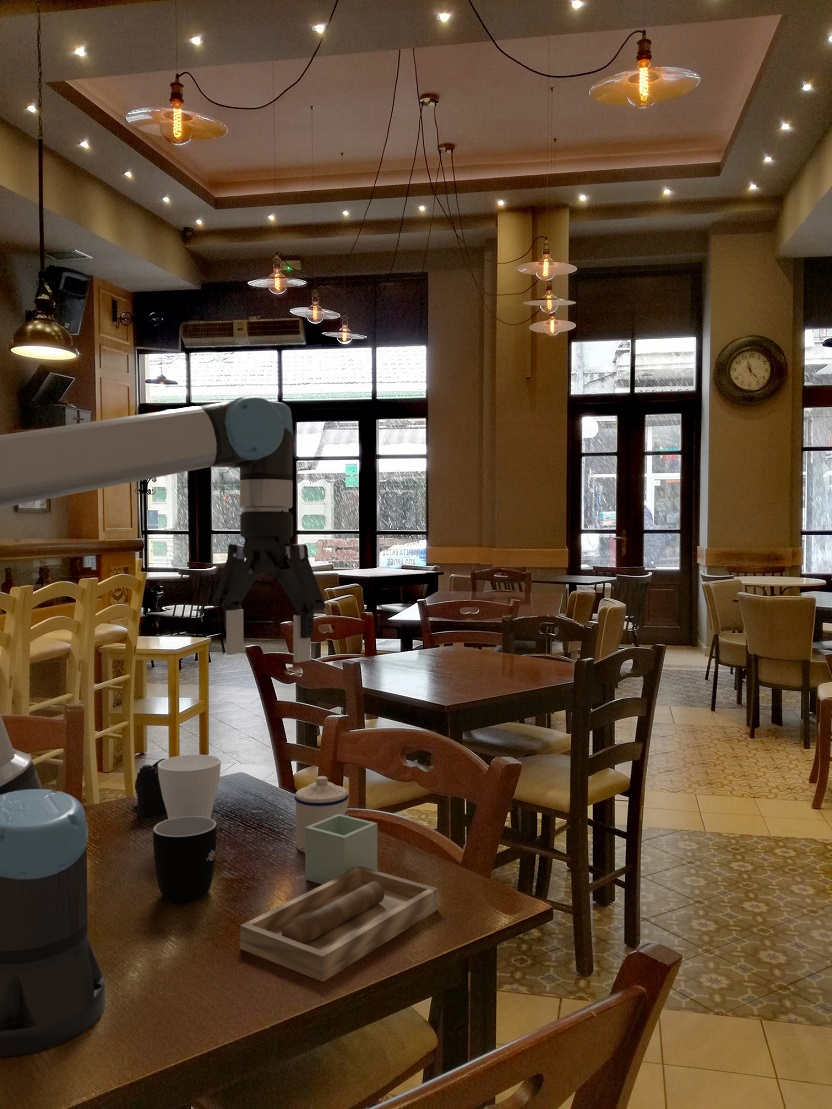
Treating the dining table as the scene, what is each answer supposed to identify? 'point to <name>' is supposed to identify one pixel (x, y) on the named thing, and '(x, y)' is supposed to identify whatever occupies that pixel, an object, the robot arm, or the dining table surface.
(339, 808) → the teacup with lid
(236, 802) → the dining table surface
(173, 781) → the cup
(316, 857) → the pot
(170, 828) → the mug
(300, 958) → the serving tray
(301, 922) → the baguette
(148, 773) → the black teapot
